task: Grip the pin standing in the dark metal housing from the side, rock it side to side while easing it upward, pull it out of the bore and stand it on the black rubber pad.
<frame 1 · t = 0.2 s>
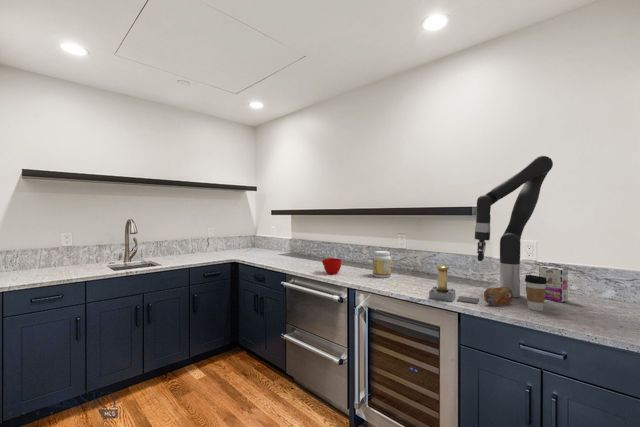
hand: (480, 260, 172), 18 cm above the worktop, tool pointing down, fingers open, 8 cm apart
housing: (442, 297, 160), on the worktop
pad: (468, 300, 155), on the worktop
supplement tub: (381, 276, 212), on the worktop
pin: (442, 297, 160), resting in housing
tin: (497, 304, 149), on the worktop
ceramic cup: (330, 273, 222), on the worktop
coffee cup: (535, 309, 142), on the worktop
candy bar box: (552, 299, 158), on the worktop
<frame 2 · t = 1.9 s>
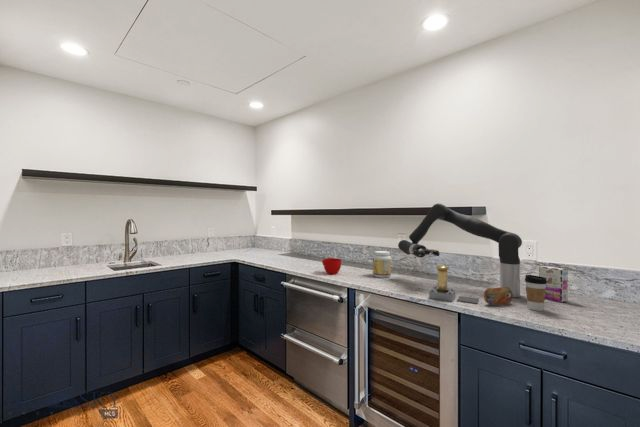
hand: (431, 254, 171), 21 cm above the worktop, tool horizontal, fingers open, 8 cm apart
nothing on the worktop moved.
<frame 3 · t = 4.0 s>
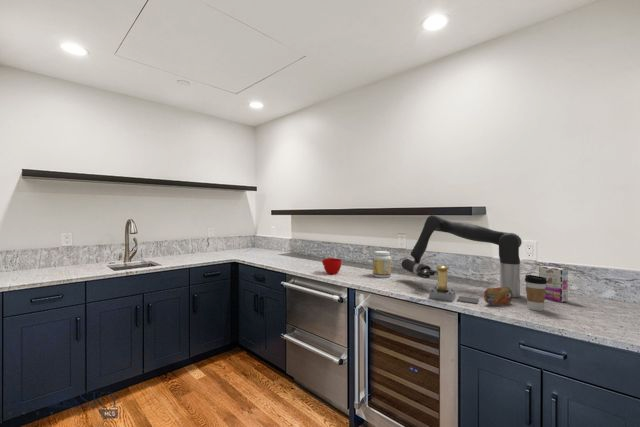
hand: (436, 275, 166), 10 cm above the worktop, tool horizontal, fingers open, 8 cm apart
nothing on the worktop moved.
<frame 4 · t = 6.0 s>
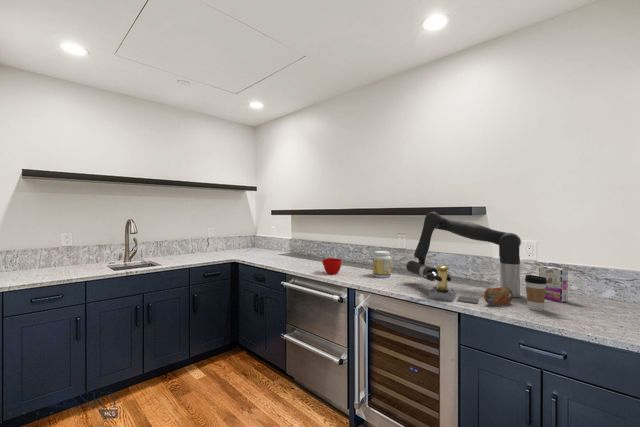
hand: (445, 279, 157), 10 cm above the worktop, tool horizontal, fingers closed on pin, 4 cm apart
pin: (442, 297, 160), resting in housing, touching gripper
everything else where it was.
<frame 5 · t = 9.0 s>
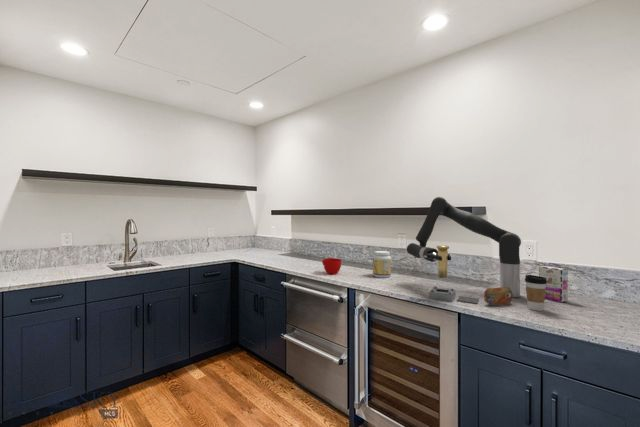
hand: (445, 258, 157), 21 cm above the worktop, tool horizontal, fingers closed on pin, 4 cm apart
pin: (442, 277, 160), point 11 cm above the worktop, touching gripper
everything else where it was.
when the fingers open (12 cm above the worktop, at t = 12.3 s): pin drops 1 cm, resting on pad.
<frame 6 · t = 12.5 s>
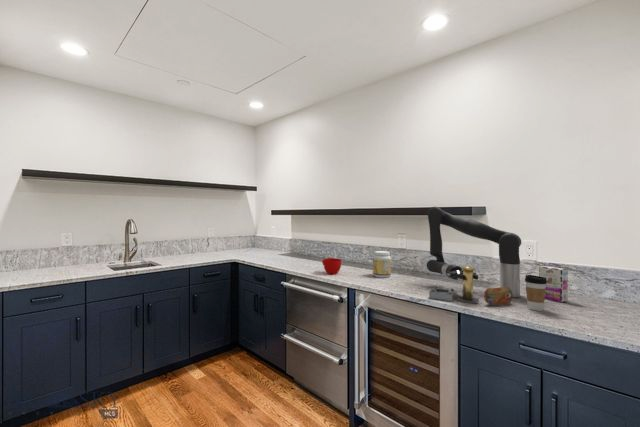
hand: (471, 277, 152), 12 cm above the worktop, tool horizontal, fingers open, 6 cm apart
pin: (467, 299, 155), point 1 cm above the worktop, touching pad
everything else where it was.
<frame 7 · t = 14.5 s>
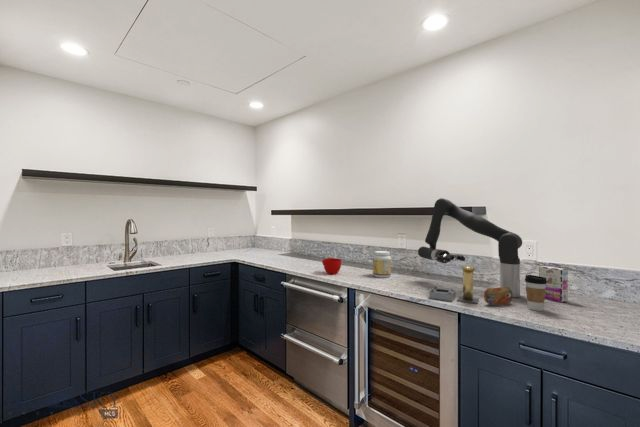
hand: (457, 259, 164), 19 cm above the worktop, tool horizontal, fingers open, 8 cm apart
nothing on the worktop moved.
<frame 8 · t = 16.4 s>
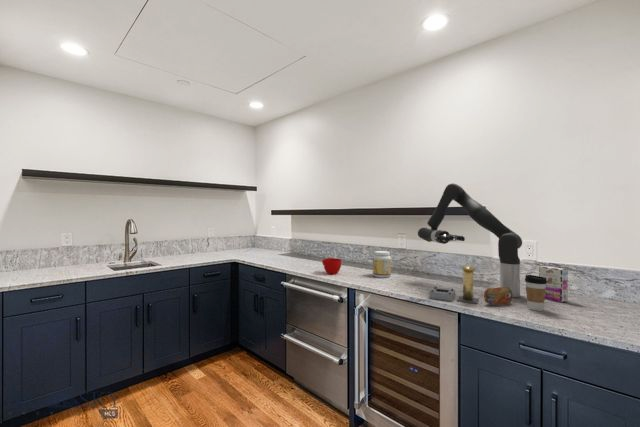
hand: (456, 239, 165), 30 cm above the worktop, tool horizontal, fingers open, 8 cm apart
nothing on the worktop moved.
at the end: pin inside the target area on the pad (0.1 cm from its centre), point 0.6 cm above the pad's base; pin tilted 1°; pin touching pad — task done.
